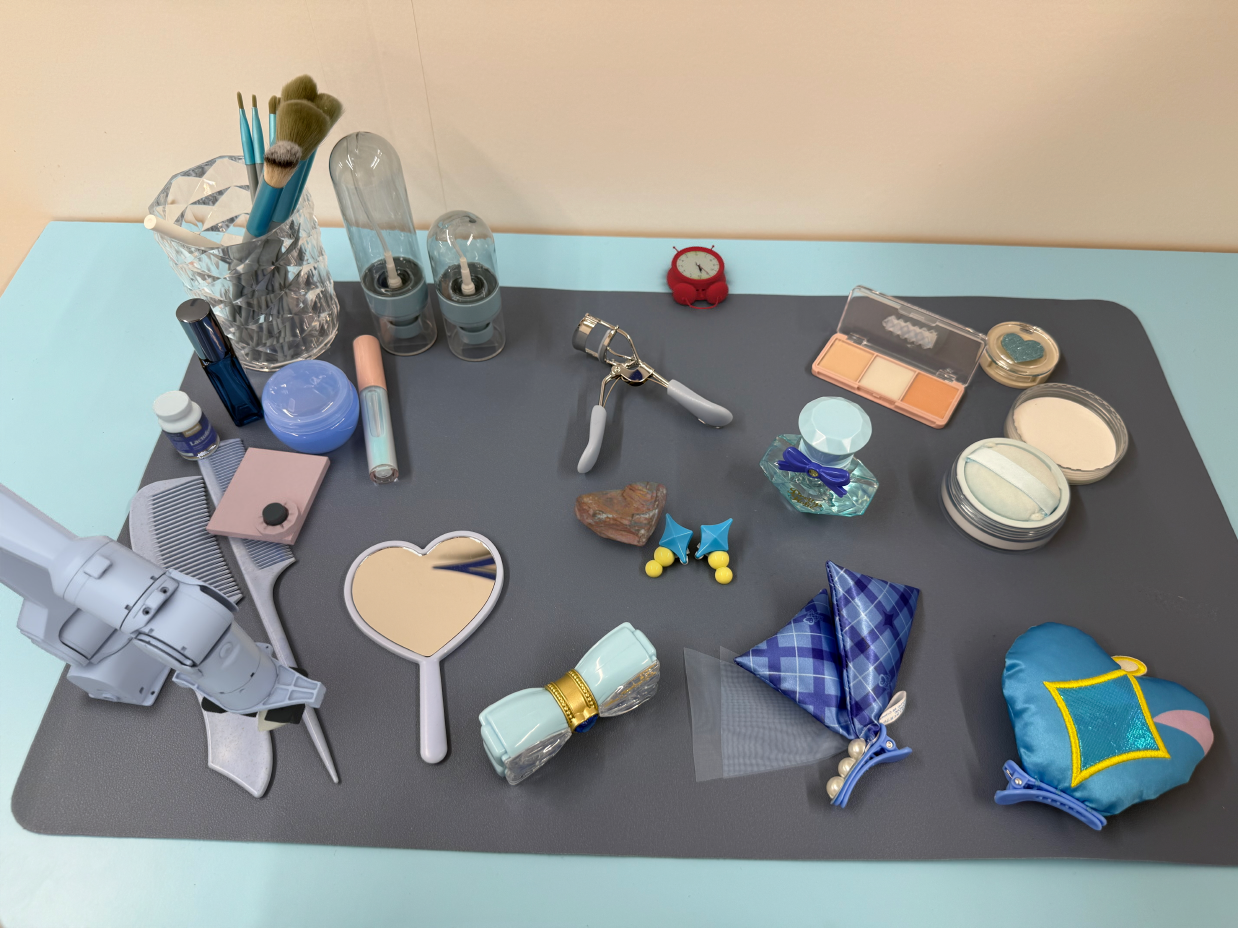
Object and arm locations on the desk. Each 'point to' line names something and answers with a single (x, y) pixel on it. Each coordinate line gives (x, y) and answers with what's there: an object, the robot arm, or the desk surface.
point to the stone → (623, 511)
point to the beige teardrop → (267, 722)
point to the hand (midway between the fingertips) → (278, 711)
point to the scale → (269, 495)
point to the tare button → (274, 514)
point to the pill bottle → (185, 425)
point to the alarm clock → (697, 276)
